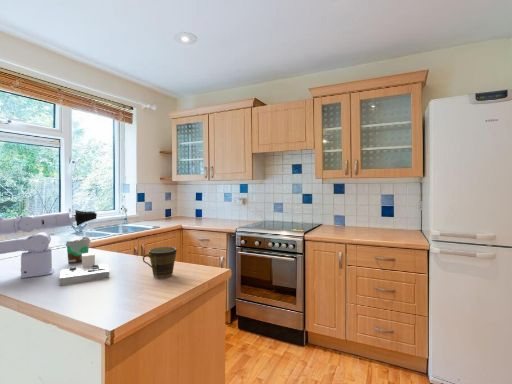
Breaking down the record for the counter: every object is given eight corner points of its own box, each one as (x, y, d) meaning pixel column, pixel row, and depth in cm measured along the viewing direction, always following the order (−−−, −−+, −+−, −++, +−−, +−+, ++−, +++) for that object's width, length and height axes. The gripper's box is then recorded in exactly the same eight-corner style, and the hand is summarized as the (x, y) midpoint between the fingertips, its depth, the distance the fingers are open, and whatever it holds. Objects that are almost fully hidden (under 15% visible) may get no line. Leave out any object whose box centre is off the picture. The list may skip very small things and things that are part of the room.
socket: (59, 285, 97) (59, 276, 97) (61, 276, 107) (61, 268, 107) (109, 278, 105) (108, 269, 105) (106, 270, 115) (106, 262, 115)
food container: (80, 264, 124) (79, 241, 124) (66, 264, 125) (65, 241, 124) (96, 257, 137) (96, 236, 137) (83, 257, 137) (83, 236, 137)
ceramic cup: (167, 270, 114) (166, 245, 114) (182, 275, 108) (182, 249, 108) (136, 278, 104) (135, 251, 104) (150, 284, 98) (150, 255, 98)
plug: (82, 272, 113) (82, 256, 113) (82, 268, 118) (81, 253, 118) (95, 270, 115) (94, 254, 115) (94, 267, 120) (94, 252, 120)
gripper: (54, 211, 108) (95, 206, 115) (56, 209, 120) (93, 205, 127) (56, 229, 108) (97, 224, 115) (58, 225, 120) (95, 220, 127)
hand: (95, 215), depth 121 cm, fingers open, 7 cm apart
